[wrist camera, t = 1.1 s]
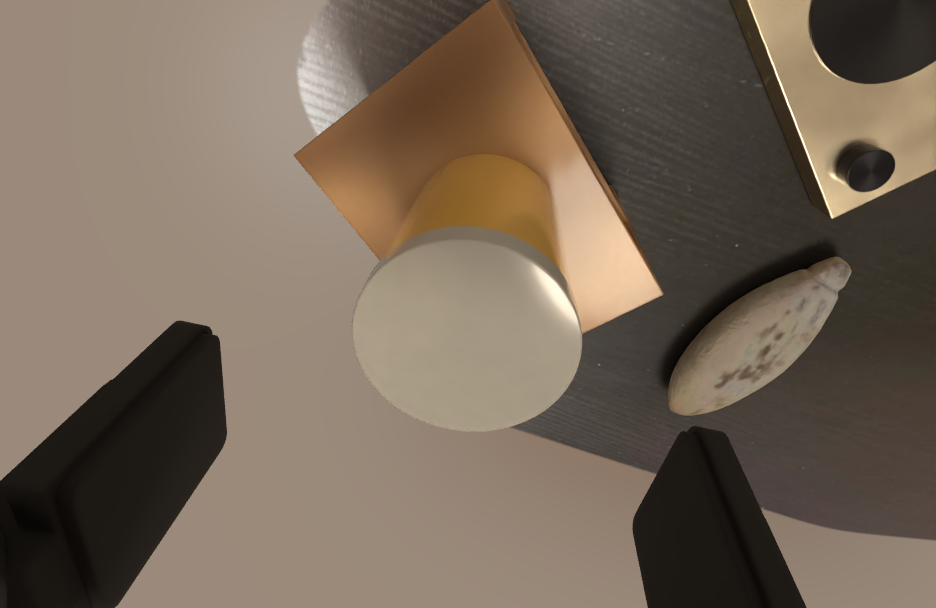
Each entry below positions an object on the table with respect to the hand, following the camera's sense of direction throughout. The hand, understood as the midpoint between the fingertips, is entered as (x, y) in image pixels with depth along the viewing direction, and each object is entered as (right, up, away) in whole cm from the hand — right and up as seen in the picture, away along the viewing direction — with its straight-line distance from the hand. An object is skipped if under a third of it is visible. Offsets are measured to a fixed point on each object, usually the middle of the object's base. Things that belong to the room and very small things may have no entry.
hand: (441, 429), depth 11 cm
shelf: (+3, +12, +23) cm, 26 cm away
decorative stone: (+21, +1, +28) cm, 35 cm away
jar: (+1, +6, +12) cm, 13 cm away
